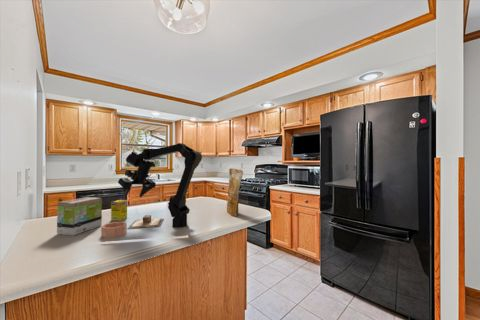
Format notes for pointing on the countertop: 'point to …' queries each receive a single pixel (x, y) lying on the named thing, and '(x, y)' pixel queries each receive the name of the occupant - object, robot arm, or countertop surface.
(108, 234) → the bowl
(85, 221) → the tea box
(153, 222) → the lid
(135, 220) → the mat
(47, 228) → the countertop surface
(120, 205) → the supplement box
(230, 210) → the pancake mix bag
